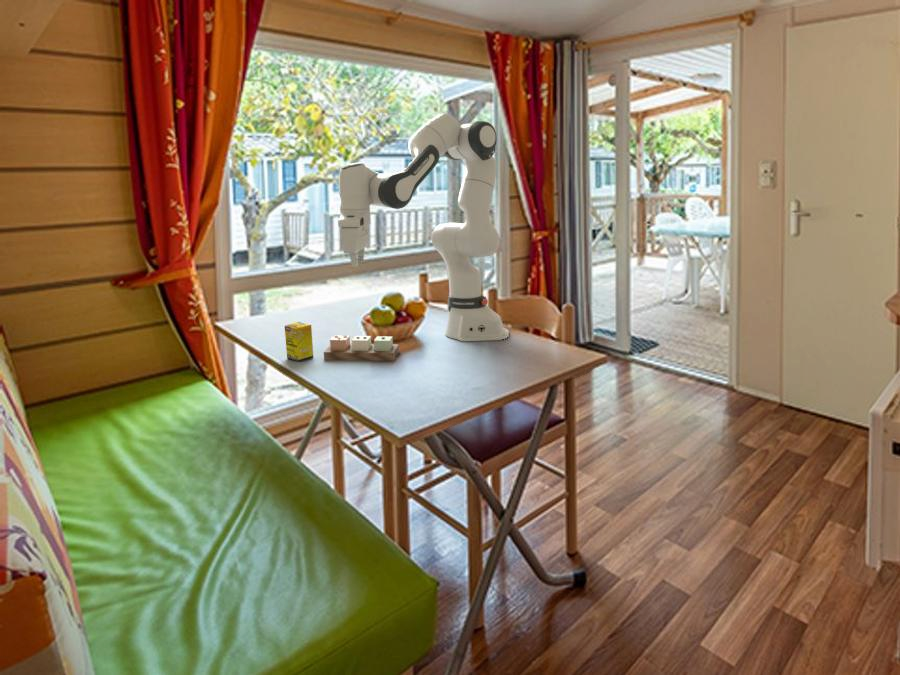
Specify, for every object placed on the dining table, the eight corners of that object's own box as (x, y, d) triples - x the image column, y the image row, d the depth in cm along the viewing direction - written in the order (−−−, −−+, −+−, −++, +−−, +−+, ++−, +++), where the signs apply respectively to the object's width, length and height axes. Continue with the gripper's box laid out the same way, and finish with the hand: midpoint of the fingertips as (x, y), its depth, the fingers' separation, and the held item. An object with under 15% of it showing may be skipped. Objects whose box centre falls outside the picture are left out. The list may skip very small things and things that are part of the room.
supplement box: (286, 359, 197) (283, 325, 194) (301, 354, 202) (299, 321, 199) (298, 362, 194) (296, 328, 191) (313, 357, 198) (311, 324, 195)
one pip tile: (393, 348, 201) (392, 335, 199) (390, 353, 196) (389, 339, 195) (377, 348, 201) (377, 335, 200) (374, 352, 196) (373, 339, 195)
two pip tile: (371, 348, 201) (370, 335, 200) (368, 352, 196) (367, 339, 195) (356, 347, 202) (355, 335, 201) (352, 352, 197) (351, 339, 196)
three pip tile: (350, 347, 202) (349, 334, 201) (346, 352, 197) (345, 339, 196) (335, 347, 202) (334, 334, 201) (330, 352, 198) (329, 338, 196)
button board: (399, 351, 203) (398, 344, 203) (393, 361, 194) (393, 353, 193) (332, 350, 205) (332, 343, 205) (324, 359, 196) (323, 352, 195)
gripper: (353, 215, 198) (355, 259, 202) (336, 221, 179) (339, 269, 182) (373, 215, 198) (374, 259, 201) (358, 221, 178) (360, 269, 182)
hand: (357, 264), depth 192 cm, fingers open, 6 cm apart
